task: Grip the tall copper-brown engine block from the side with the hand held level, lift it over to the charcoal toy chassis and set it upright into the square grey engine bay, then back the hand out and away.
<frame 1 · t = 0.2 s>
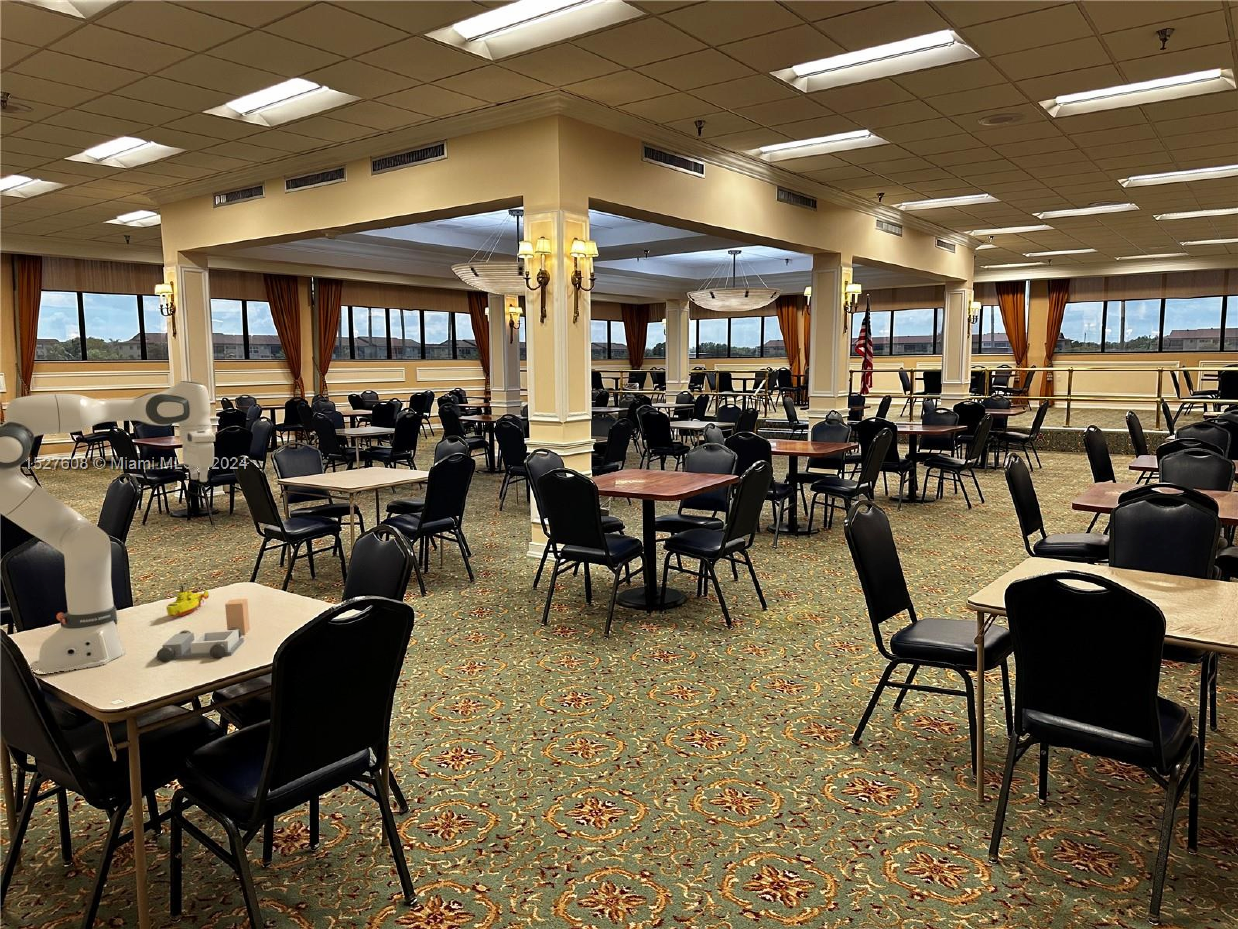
hand: (199, 480, 251), 48 cm above the table, tool pointing down, fingers open, 8 cm apart
chassis: (201, 650, 241), on the table
toy boat: (186, 614, 278), on the table
engine block: (238, 632, 256), on the table
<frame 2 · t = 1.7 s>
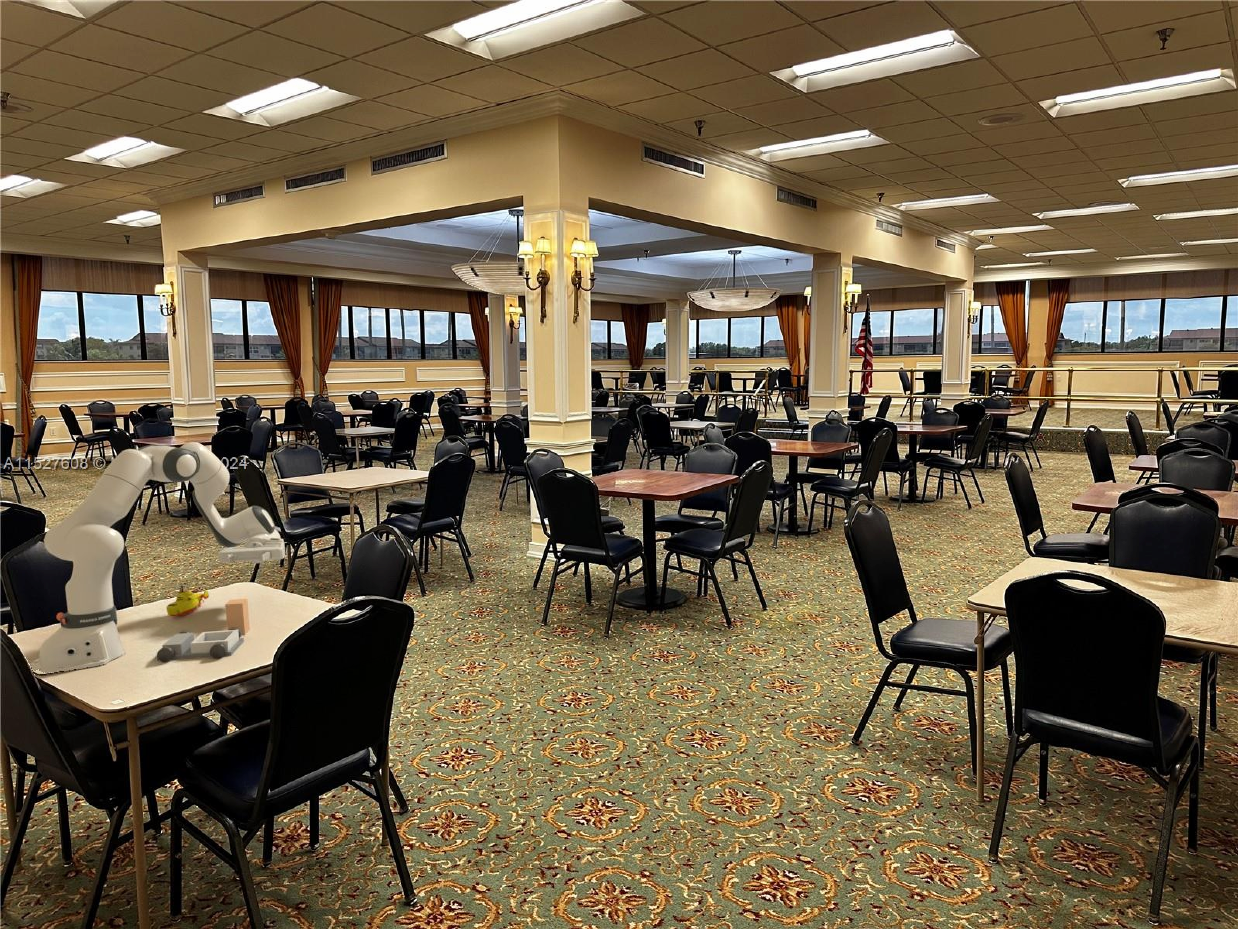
hand: (245, 559, 265), 20 cm above the table, tool horizontal, fingers open, 8 cm apart
nothing on the table moved.
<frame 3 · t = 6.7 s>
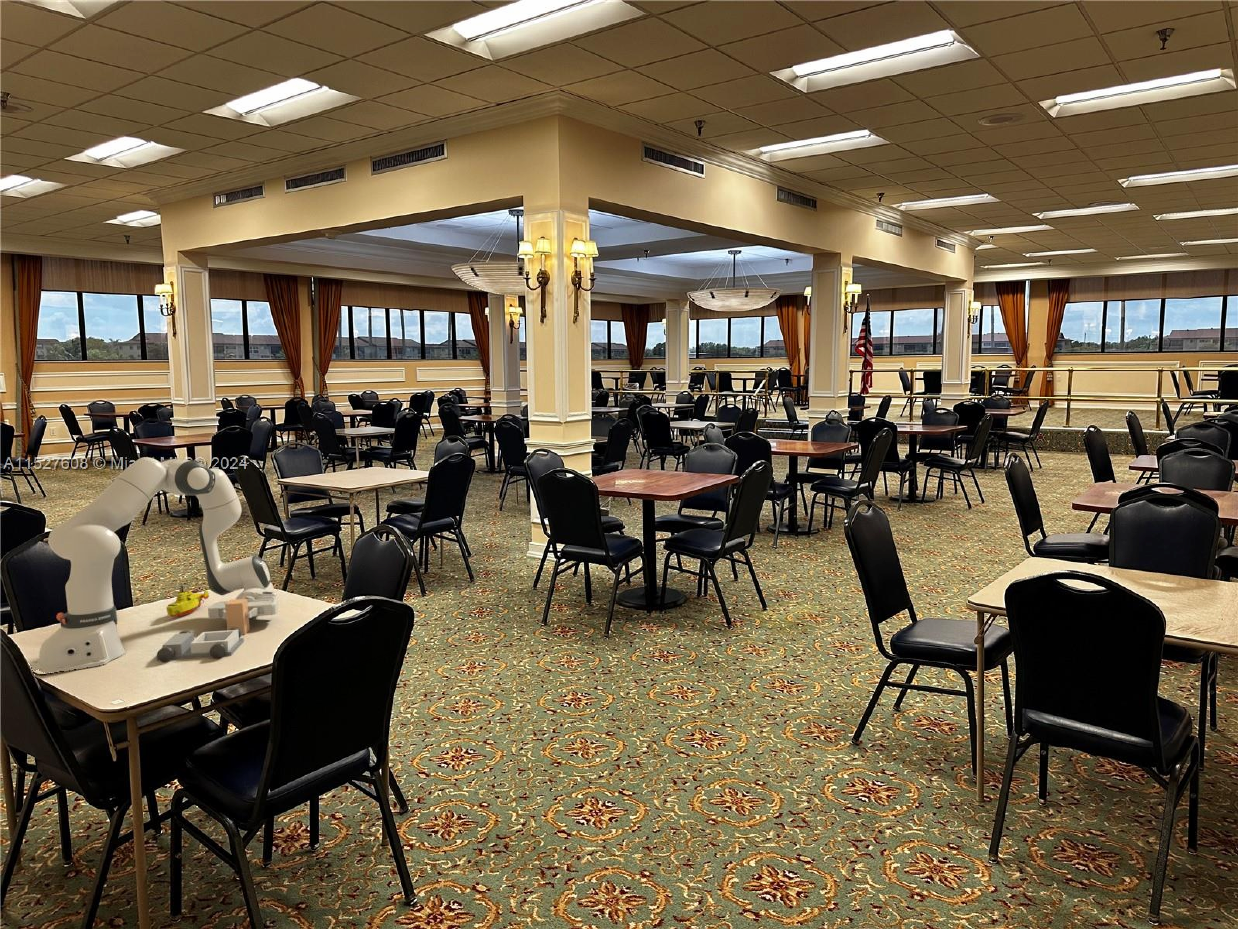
hand: (236, 616, 254), 6 cm above the table, tool horizontal, fingers closed on engine block, 5 cm apart
engine block: (238, 632, 256), on the table, touching gripper
everything else where it was.
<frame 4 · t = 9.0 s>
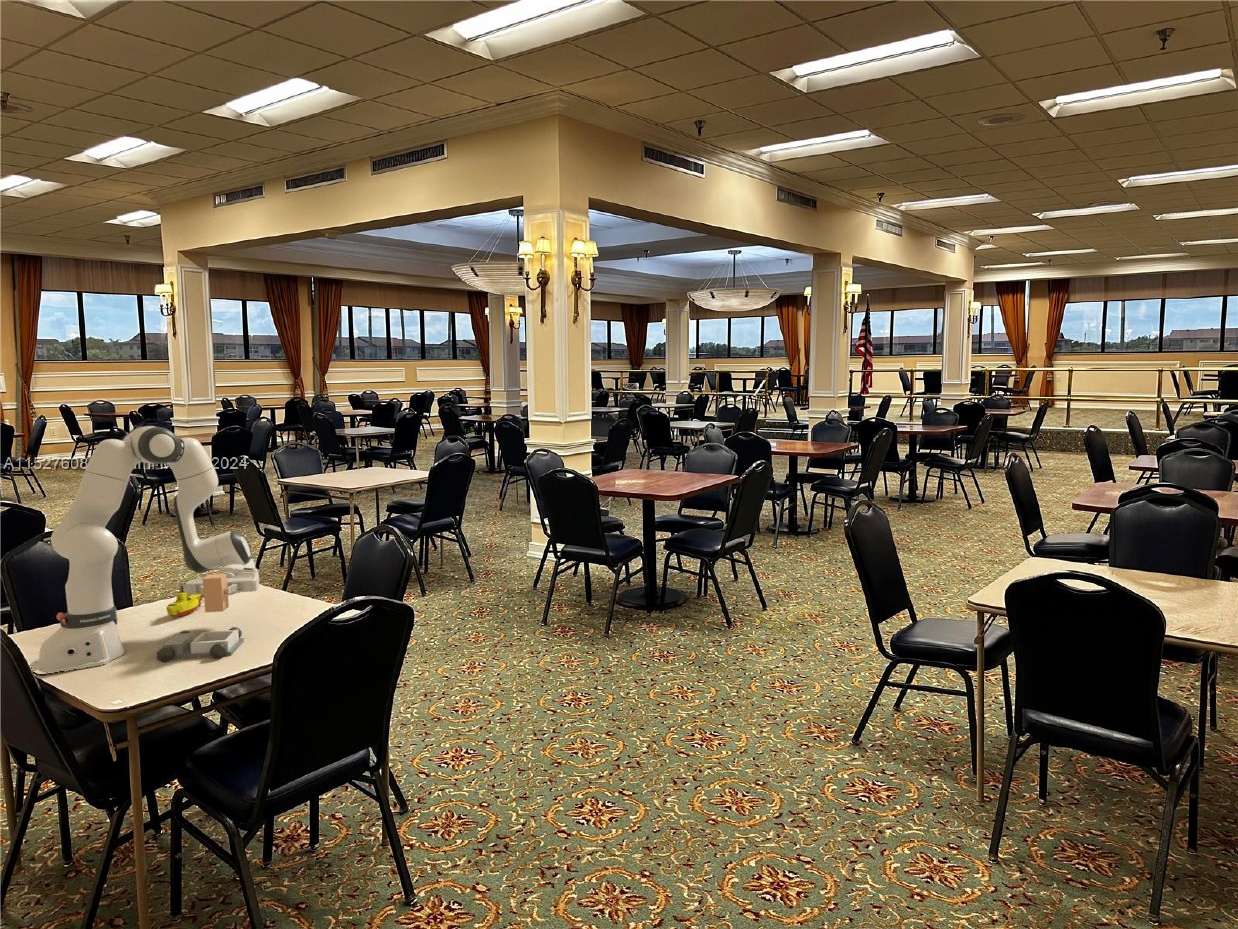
hand: (214, 592, 241), 17 cm above the table, tool horizontal, fingers closed on engine block, 5 cm apart
engine block: (217, 609, 243), point 11 cm above the table, touching gripper
everything else where it was.
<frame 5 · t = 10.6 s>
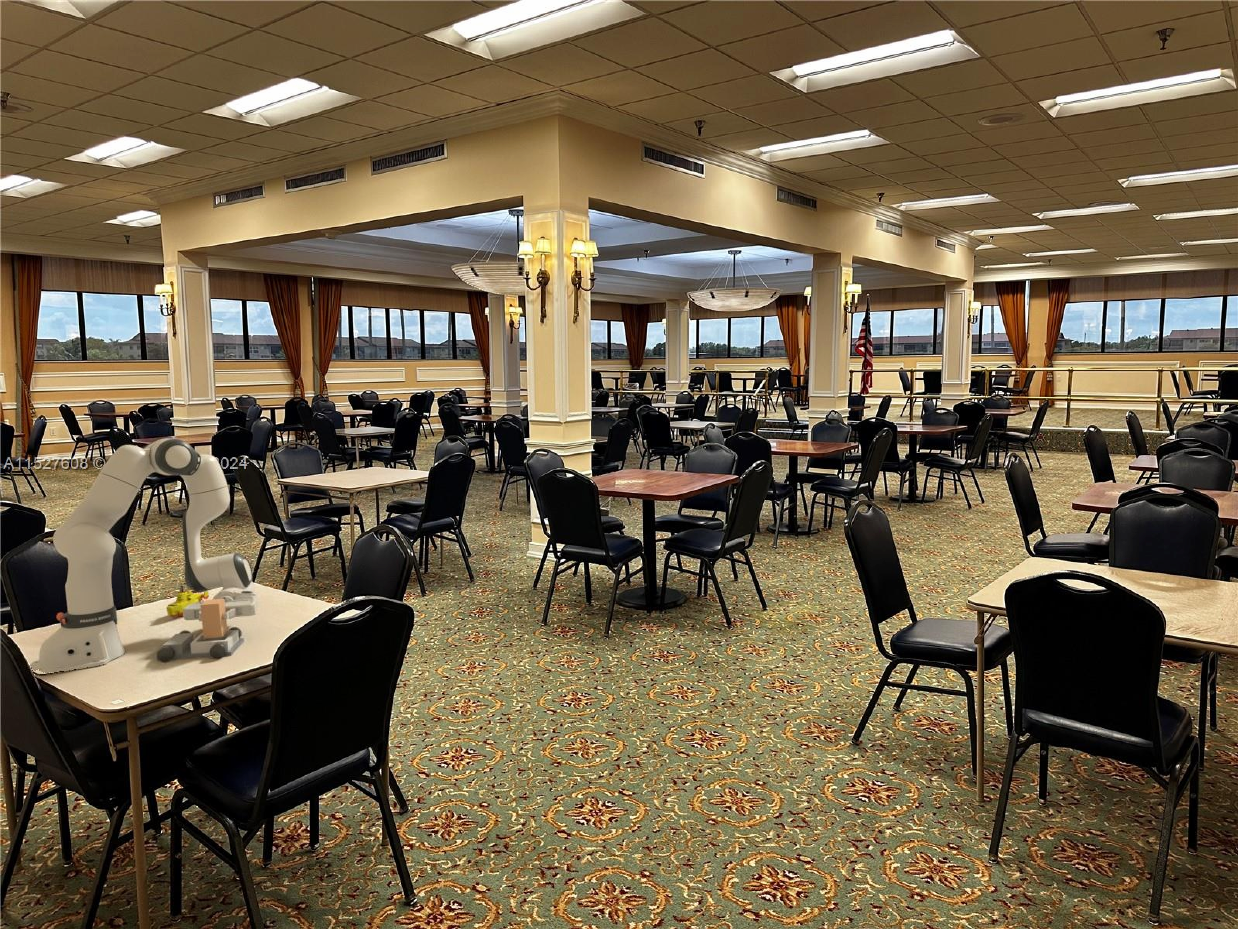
hand: (212, 617, 239), 10 cm above the table, tool horizontal, fingers closed on engine block, 5 cm apart
engine block: (215, 635, 241), point 4 cm above the table, touching gripper
everything else where it was.
when the fingers open (8 cm above the table, at t = 11.3 s): engine block drops 2 cm, resting on chassis.
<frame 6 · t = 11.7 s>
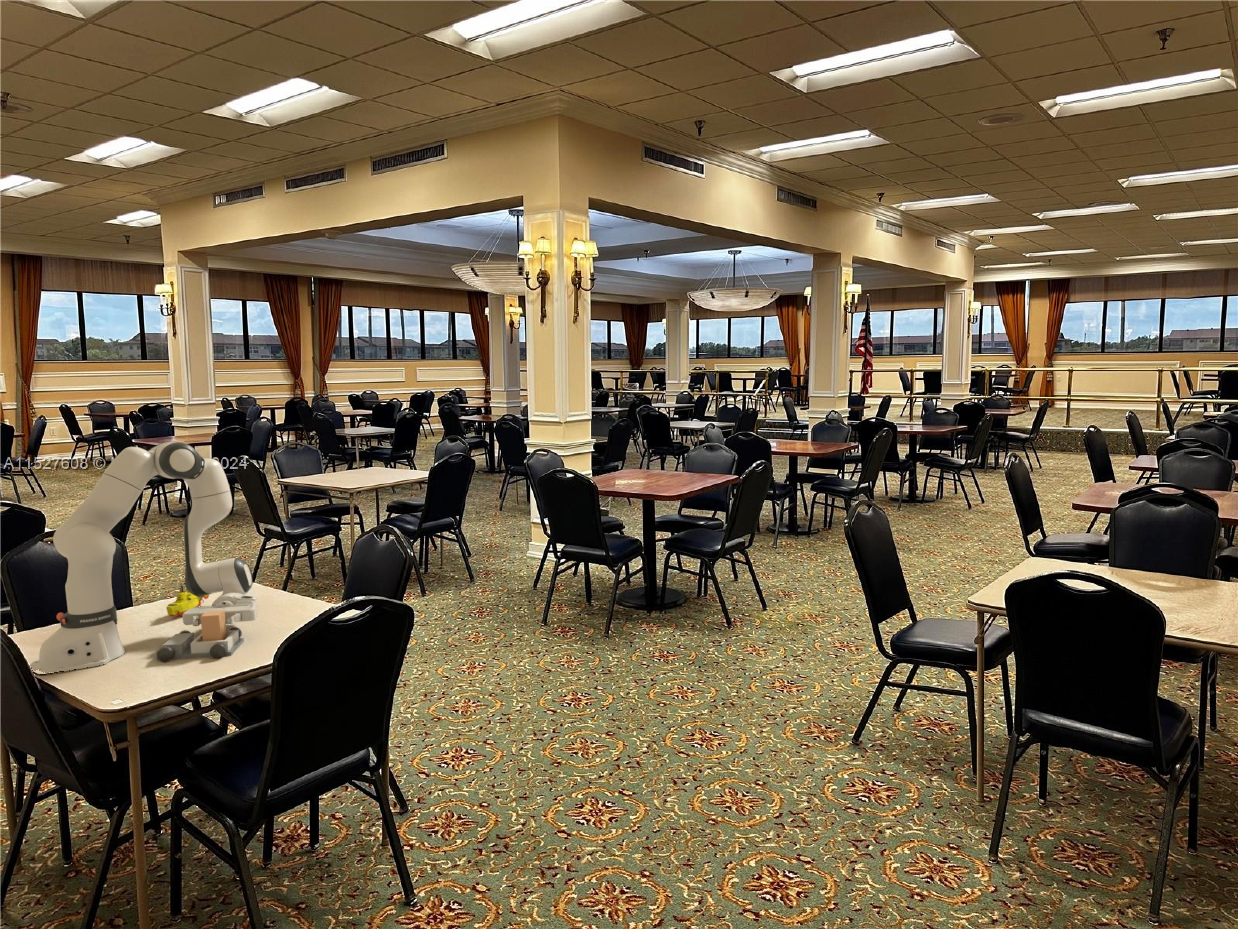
hand: (212, 622, 239), 8 cm above the table, tool horizontal, fingers open, 8 cm apart
engine block: (215, 646, 241), point 1 cm above the table, touching chassis
everything else where it was.
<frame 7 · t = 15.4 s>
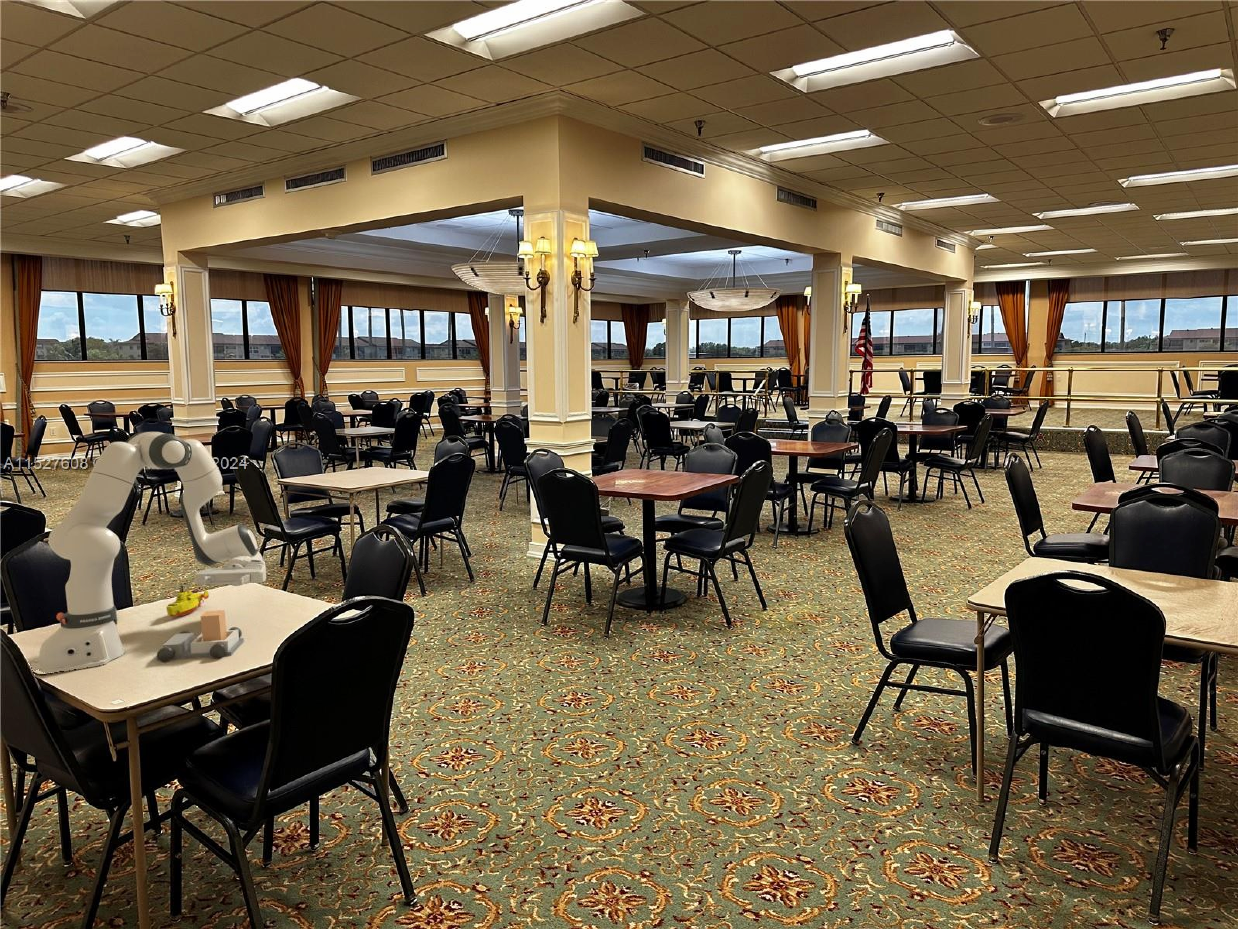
hand: (223, 582, 250), 17 cm above the table, tool horizontal, fingers open, 8 cm apart
nothing on the table moved.
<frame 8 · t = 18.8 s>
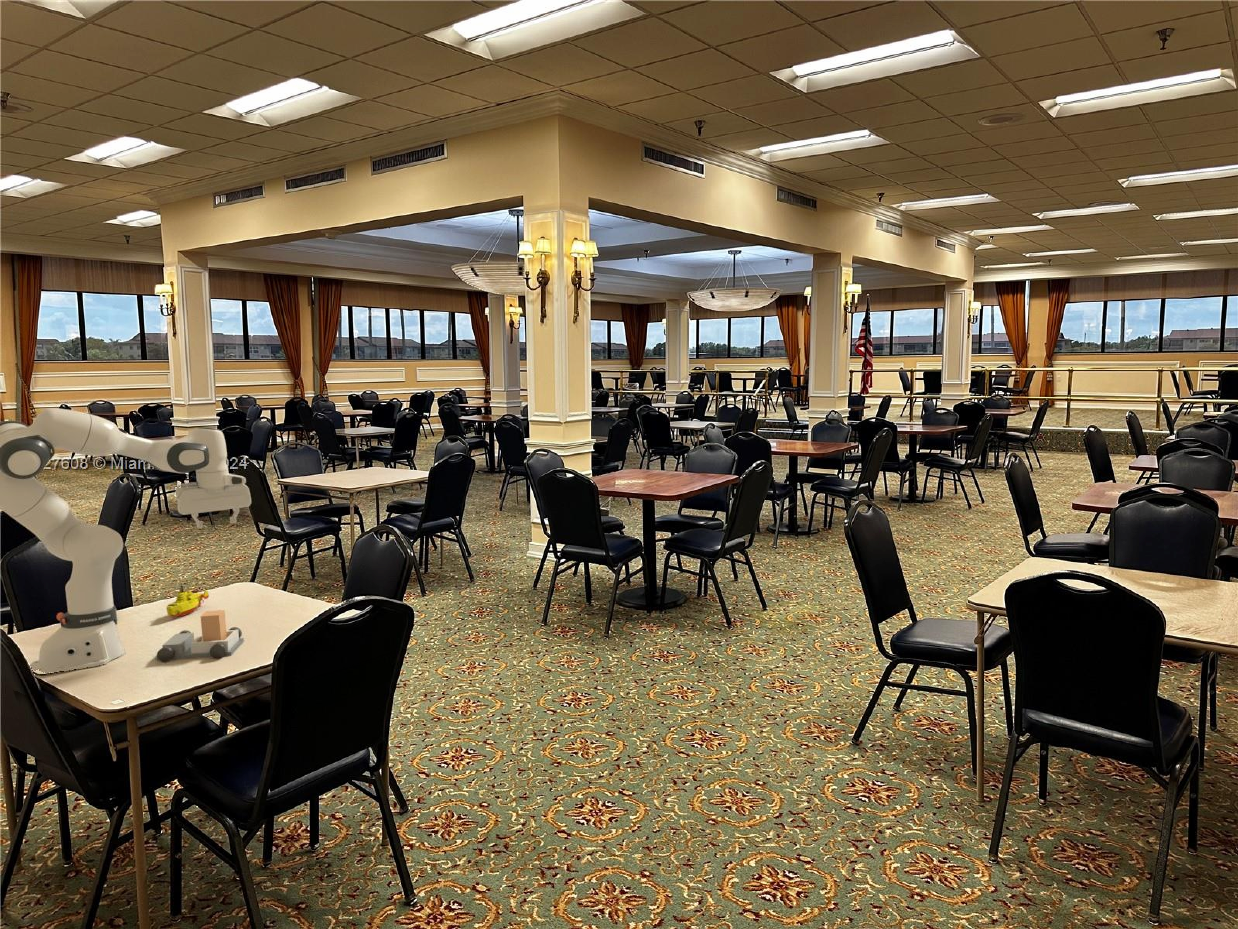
hand: (216, 525, 252), 34 cm above the table, tool pointing down, fingers open, 8 cm apart
nothing on the table moved.
at the end: engine block 0.0 cm from the target spot on the chassis, point 1.0 cm above the chassis's base; engine block tilted 0°; the gripper is holding nothing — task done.
